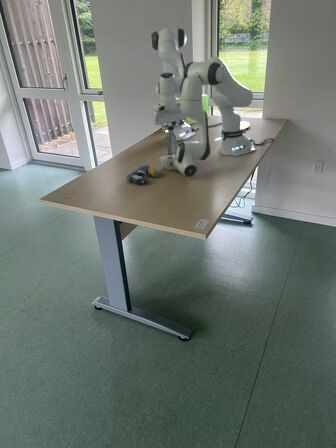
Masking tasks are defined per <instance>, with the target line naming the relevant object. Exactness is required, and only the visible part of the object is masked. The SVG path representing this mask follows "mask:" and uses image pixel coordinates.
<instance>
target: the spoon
mask: <svg viewBox="0 0 336 448" xmlns="http://www.w3.org/2000/svg"><path fill="white" fill-rule="evenodd" d="M250 125H251V124H250V123H249V122H248V121H245V120H243V121H241V122H240V129H242V130H247V129H248V128H249V127H250Z"/></svg>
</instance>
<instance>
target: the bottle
mask: <svg viewBox="0 0 336 448" xmlns="http://www.w3.org/2000/svg"><path fill="white" fill-rule="evenodd" d="M166 144H167V145H166V146H167V154H169V155H173V154H175V153H176V148H177V146H178V145H177V141H176V133H175V132H174V131H173V130H169V132H168V133H167V132H166Z"/></svg>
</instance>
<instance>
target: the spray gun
mask: <svg viewBox="0 0 336 448" xmlns="http://www.w3.org/2000/svg"><path fill="white" fill-rule="evenodd" d="M148 174H149V175H150V176H151V177H153V178H158V176H159V174H160V172H159V170H158V169H157V168H154V167H153V166H150V164H140V165H139V166H138V167H137V168H135V169H134V170H133V171H131V172H130V173H129V174H128V175H127V176H126V179H125V181H127V182H129V183H131V182H132V183H134V184H136V185H142V184H146V183H147V182H148V180H149V177H147V175H148Z"/></svg>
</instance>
